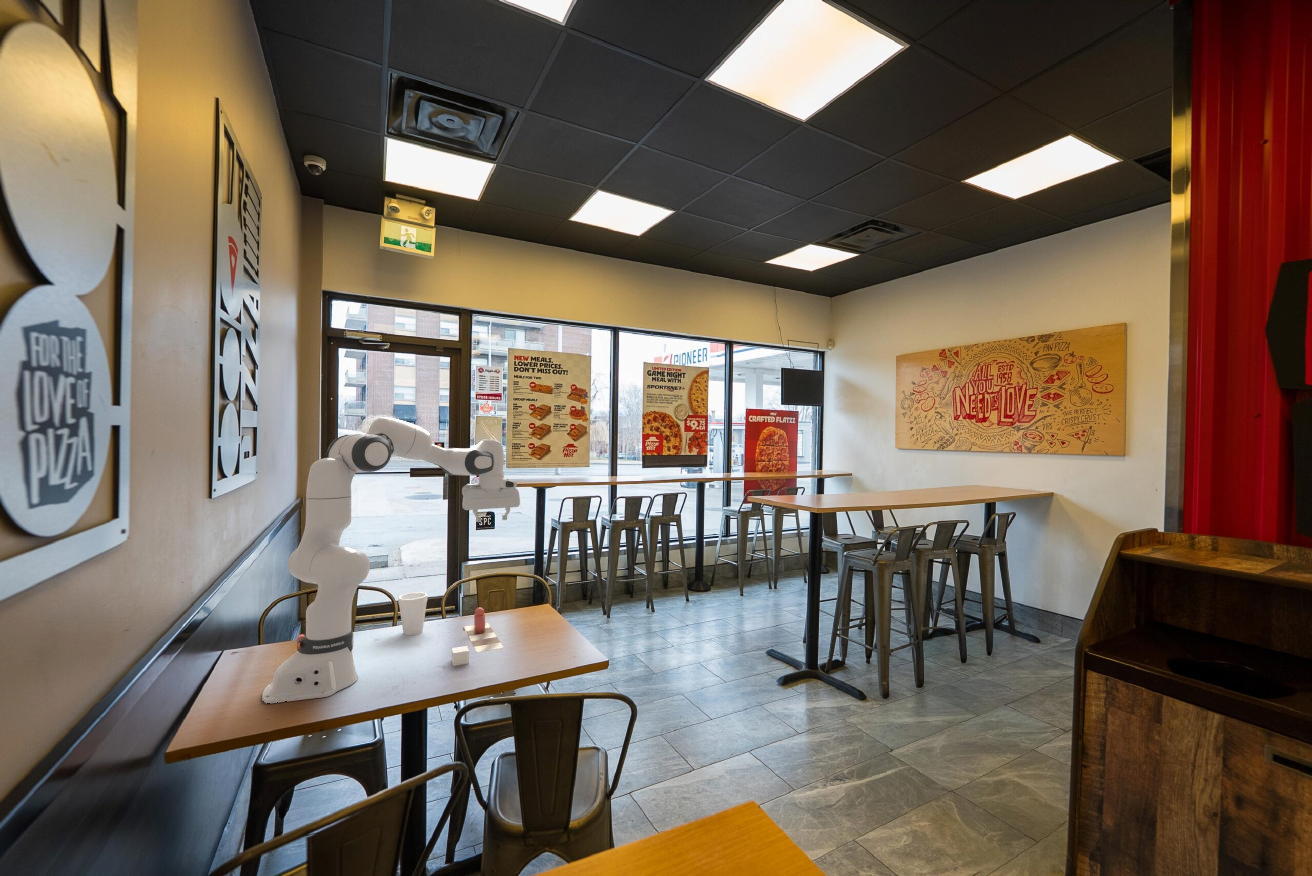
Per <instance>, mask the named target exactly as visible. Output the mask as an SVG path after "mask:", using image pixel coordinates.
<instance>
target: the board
mask: <svg viewBox="0 0 1312 876" xmlns="http://www.w3.org/2000/svg"><path fill="white" fill-rule="evenodd" d="M462 629H463V631H465V632H466V634H467V637H468V638H469V640H470V643H471V645H472V647H473V649H474V650H475V653H481V652H487V651H493V650H500V649H504V645H503V644H502V643H501V641H500V640H499V638H498V636H497V635H496V633H495V631H494V630H493V628H492V627H491V625H490V623H489V622H485V632H483V633H474V624H472V625H466V626H462Z"/></svg>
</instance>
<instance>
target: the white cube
mask: <svg viewBox="0 0 1312 876" xmlns="http://www.w3.org/2000/svg"><path fill="white" fill-rule="evenodd" d="M451 663H452V666H453V667H455V666H460V665H461V666H462V665H466V664H469V663H470V650H469V648H468V645H466V646H464V645H463V646H458V647H451Z"/></svg>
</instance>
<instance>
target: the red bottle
mask: <svg viewBox="0 0 1312 876" xmlns="http://www.w3.org/2000/svg"><path fill="white" fill-rule="evenodd" d="M473 618H474V623H473V625H474V633H483V632H485V623H486V614H485V609H484V608H483V607H477V608H476V609H475V611H474V617H473Z"/></svg>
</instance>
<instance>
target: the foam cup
mask: <svg viewBox="0 0 1312 876" xmlns="http://www.w3.org/2000/svg"><path fill="white" fill-rule="evenodd" d="M427 602H428V593H427V592H422V591H420V592H418V591H415V592H408V593H404V594H401V595H399V597H398V605H399V606H398V607H399V613H400V620H401V626H402V633H403V635H405V636H416V635H418V634H422V633H423V631H424V626H425V625H424V623H425V619H426V617H425V616H426V609H427Z"/></svg>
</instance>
